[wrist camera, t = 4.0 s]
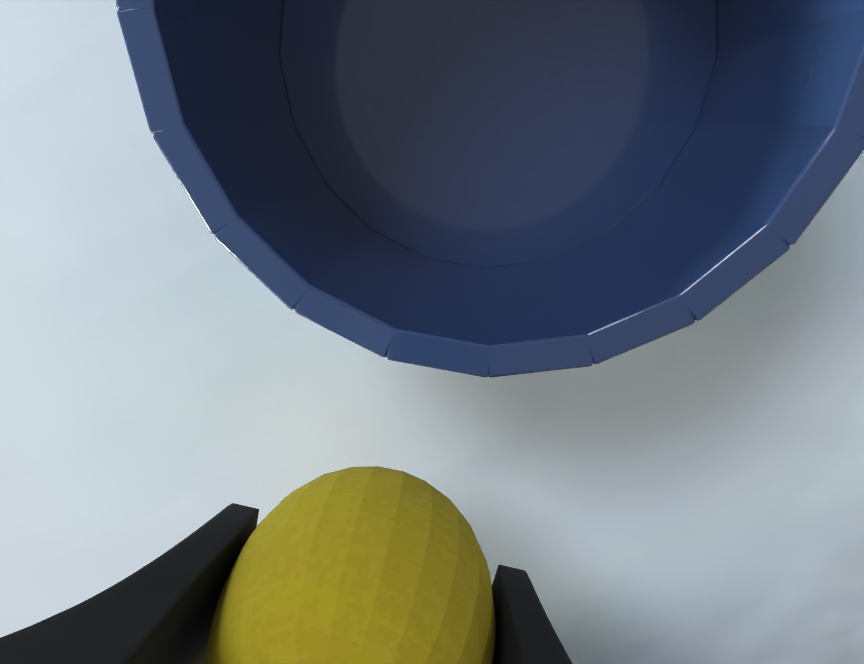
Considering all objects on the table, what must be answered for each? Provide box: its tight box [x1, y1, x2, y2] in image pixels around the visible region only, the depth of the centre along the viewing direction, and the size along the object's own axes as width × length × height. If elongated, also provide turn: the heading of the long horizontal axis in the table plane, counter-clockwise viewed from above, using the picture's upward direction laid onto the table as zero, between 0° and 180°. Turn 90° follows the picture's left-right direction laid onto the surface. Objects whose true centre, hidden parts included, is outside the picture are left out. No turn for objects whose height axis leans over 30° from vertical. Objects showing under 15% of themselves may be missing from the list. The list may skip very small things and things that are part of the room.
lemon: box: [205, 467, 496, 664], centre depth 12 cm, size 6×6×8 cm
